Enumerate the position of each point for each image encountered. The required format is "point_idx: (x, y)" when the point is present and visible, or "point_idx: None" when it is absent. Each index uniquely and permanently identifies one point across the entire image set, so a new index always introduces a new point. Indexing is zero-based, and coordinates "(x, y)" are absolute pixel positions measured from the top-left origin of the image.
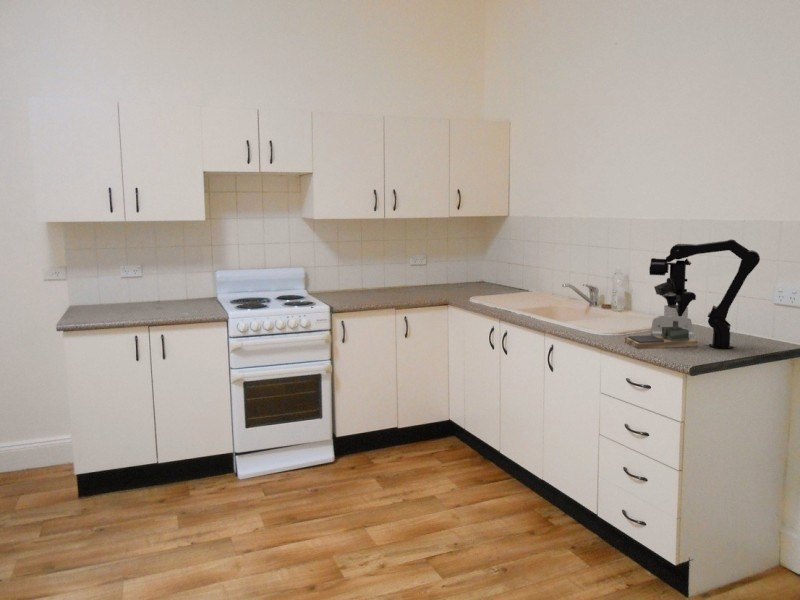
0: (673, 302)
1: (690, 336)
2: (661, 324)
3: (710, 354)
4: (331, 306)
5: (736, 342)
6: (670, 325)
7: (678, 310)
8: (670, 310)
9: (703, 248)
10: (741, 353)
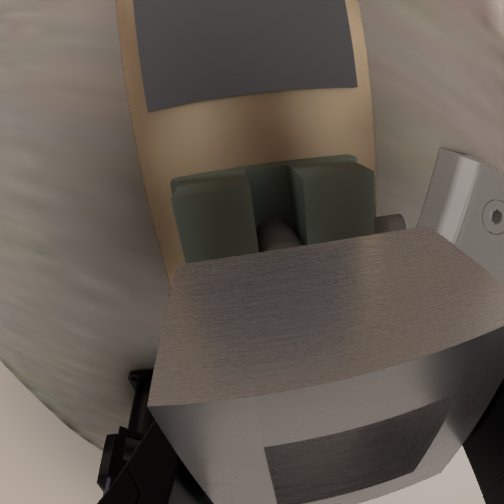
0: (496, 454)
1: None
2: (499, 234)
3: (25, 308)
4: None
5: None
6: None
7: (162, 435)
8: (245, 337)
9: None
10: (79, 405)
